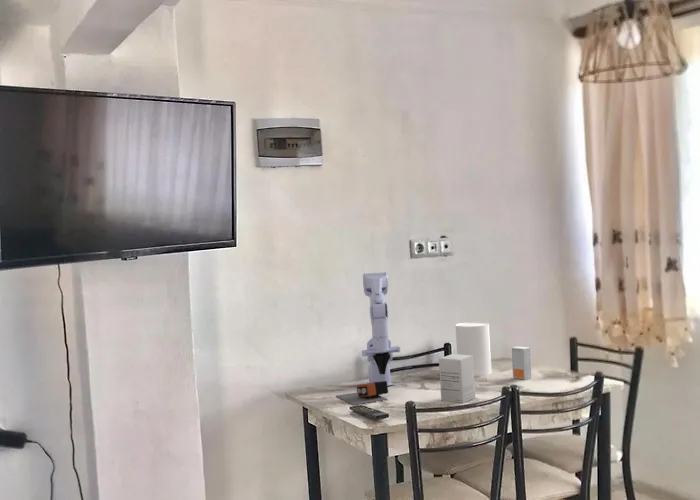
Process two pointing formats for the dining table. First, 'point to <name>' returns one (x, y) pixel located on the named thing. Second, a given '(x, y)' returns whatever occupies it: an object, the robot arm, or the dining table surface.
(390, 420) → the dining table surface
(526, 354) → the skincare box
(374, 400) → the mat
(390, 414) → the dining table surface
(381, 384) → the battery
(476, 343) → the canister
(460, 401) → the supplement box
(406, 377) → the dining table surface
